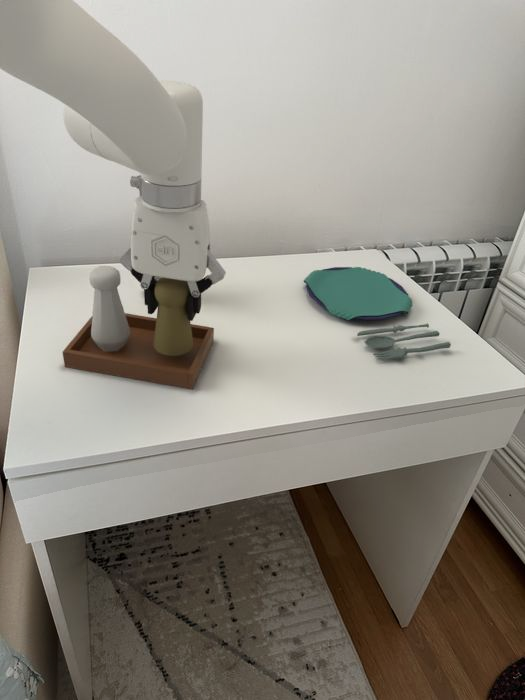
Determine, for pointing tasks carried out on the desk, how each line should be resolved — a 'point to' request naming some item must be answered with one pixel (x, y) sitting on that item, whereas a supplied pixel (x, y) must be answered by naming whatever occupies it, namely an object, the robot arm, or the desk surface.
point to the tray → (141, 355)
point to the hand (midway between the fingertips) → (173, 311)
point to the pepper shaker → (172, 318)
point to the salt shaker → (108, 310)
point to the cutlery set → (367, 304)
